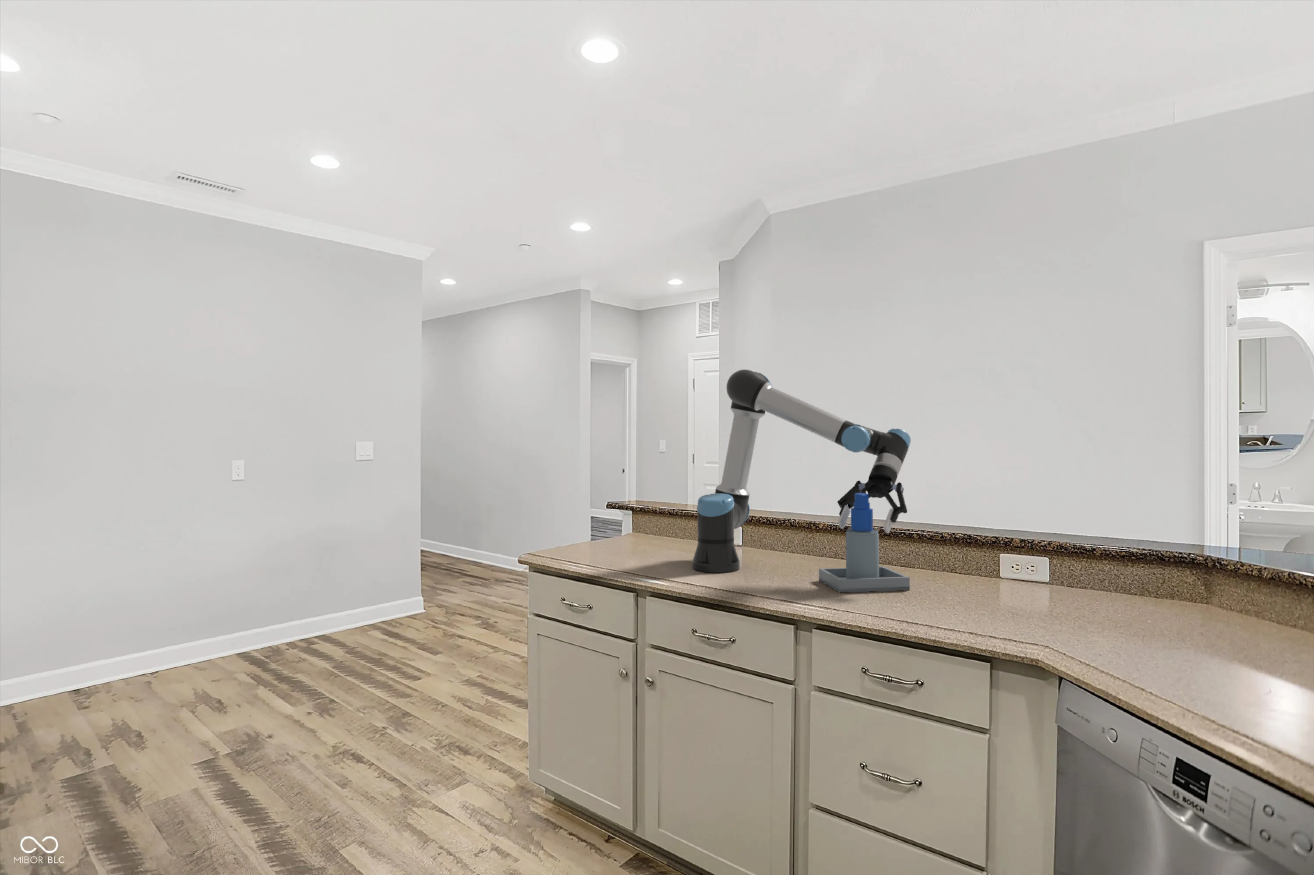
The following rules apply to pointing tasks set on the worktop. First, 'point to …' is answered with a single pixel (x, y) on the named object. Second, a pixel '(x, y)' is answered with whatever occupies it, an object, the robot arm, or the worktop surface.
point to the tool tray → (864, 581)
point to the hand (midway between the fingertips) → (862, 527)
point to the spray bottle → (862, 541)
